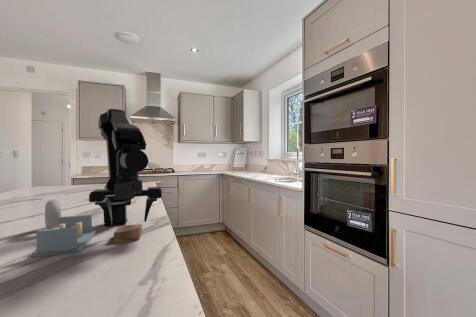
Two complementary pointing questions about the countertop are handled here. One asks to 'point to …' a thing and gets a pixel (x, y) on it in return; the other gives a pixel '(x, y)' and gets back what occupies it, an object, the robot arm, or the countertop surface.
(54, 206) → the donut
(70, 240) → the peg stand
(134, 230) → the walnut block
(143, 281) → the countertop surface
